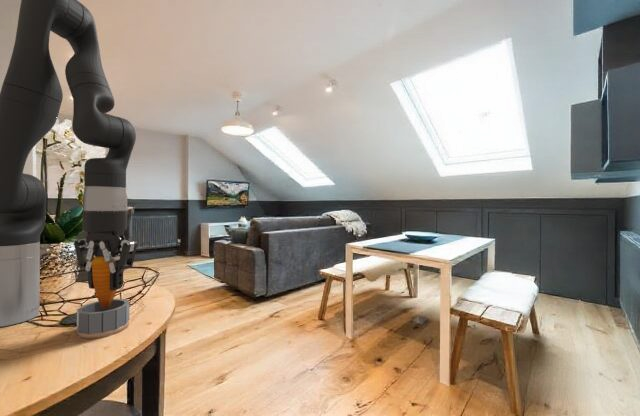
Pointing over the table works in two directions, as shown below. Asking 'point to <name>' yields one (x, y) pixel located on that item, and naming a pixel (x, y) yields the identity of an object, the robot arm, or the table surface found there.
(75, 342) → the table surface
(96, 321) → the cup
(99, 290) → the carrot
